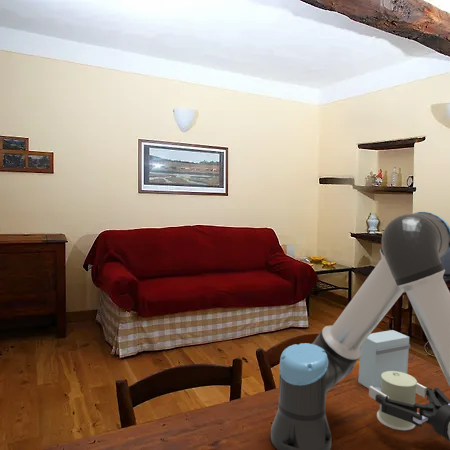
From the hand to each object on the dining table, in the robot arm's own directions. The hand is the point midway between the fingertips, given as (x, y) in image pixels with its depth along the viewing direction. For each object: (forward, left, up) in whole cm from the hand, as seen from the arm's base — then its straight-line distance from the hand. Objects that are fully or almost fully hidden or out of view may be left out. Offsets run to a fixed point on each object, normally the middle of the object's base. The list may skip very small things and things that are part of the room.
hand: (388, 386), depth 116 cm
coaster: (+1, -3, -8) cm, 9 cm away
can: (+1, -3, -8) cm, 9 cm away
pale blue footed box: (+11, +13, -8) cm, 19 cm away
